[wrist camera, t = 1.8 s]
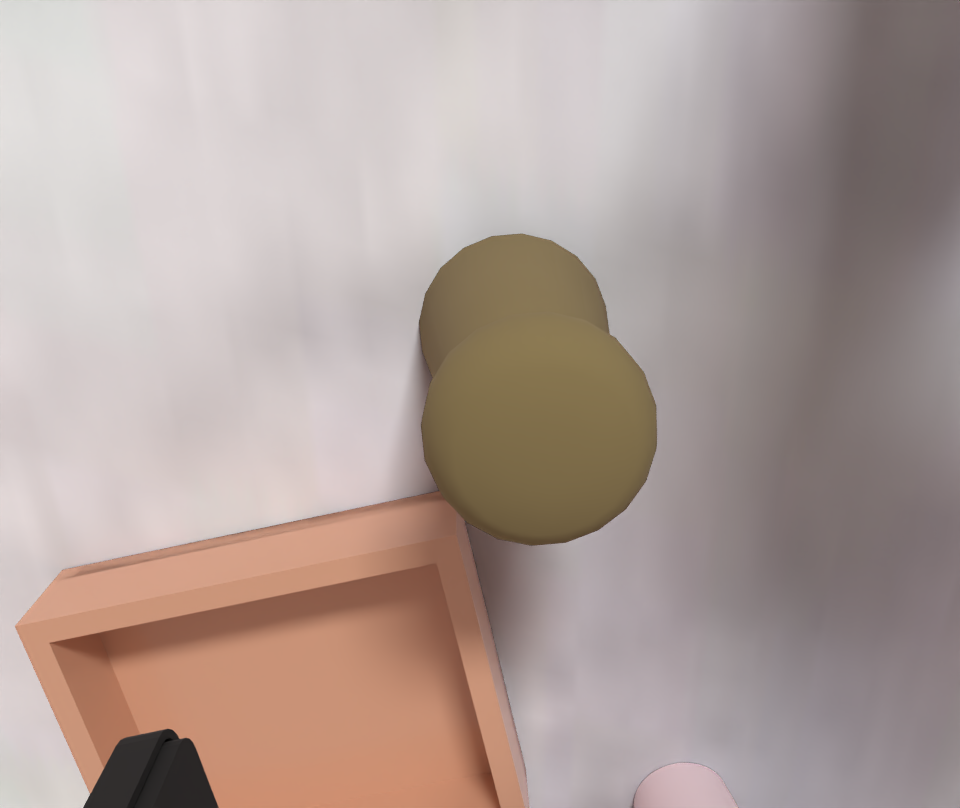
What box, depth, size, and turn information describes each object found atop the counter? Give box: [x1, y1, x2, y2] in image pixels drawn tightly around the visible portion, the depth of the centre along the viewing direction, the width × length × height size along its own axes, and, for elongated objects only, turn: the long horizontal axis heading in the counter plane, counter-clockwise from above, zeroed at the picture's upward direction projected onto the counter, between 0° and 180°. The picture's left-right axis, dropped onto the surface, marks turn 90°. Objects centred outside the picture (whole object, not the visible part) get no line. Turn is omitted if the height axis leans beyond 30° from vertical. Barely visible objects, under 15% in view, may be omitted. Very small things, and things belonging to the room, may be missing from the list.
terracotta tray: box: [15, 491, 530, 808], centre depth 31 cm, size 14×12×4 cm
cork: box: [419, 234, 657, 546], centre depth 23 cm, size 6×6×11 cm
